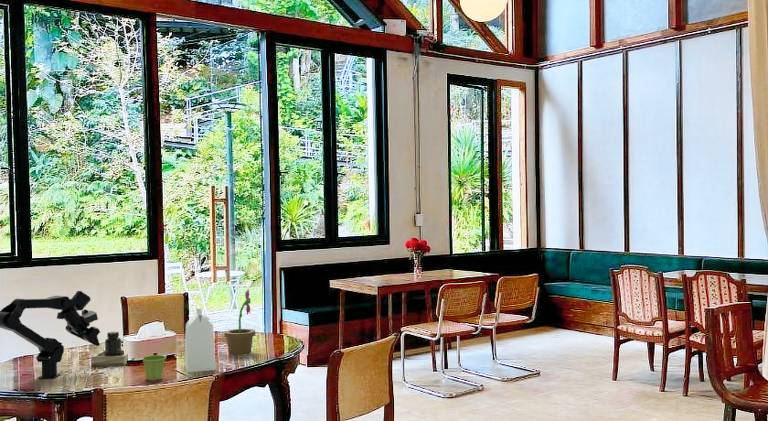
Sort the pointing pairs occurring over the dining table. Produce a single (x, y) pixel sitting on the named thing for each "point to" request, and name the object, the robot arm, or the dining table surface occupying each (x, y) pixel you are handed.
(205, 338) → the milk
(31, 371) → the dining table surface
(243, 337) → the flowerpot
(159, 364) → the plant pot
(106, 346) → the supplement bottle
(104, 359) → the box
